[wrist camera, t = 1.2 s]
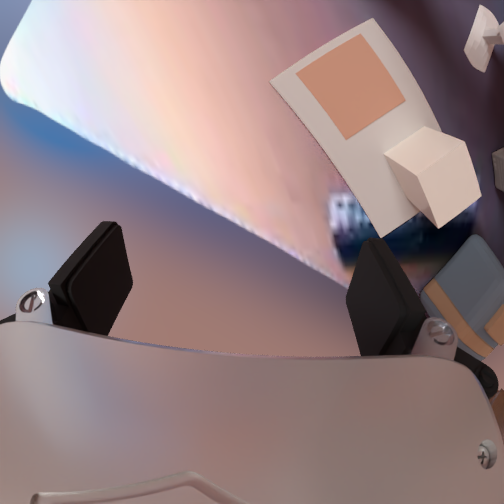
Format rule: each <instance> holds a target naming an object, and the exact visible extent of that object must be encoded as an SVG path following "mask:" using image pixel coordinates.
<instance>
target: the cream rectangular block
mask: <svg viewBox="0 0 504 504" xmlns="http://www.w3.org/2000/svg"><path fill="white" fill-rule="evenodd" d="M384 156H385V157H386V159H387V161H388V163H389V165H390V166H391V168H392V170H393V172H394V174H395V176H396V178H397V180H398V182H399V183H400V185H401V187H402V189H403V191H404V193H405V195H406V198H407V199H408V200H410V201H411V202H412V203H413V204H414V205H415V206H416V207H417V208H418V209H419V210H420V211H421V212H422V213H423V214H424V215H425V216H426V217H427V218H428V219H429V220H430V221H431V222H432V223H433V224H434V225H435V226H436V227H437V228H438V229H439V228H440V227H442V226H443V225H444V224H446V223H447V222H449V221H450V220H451V219H453V218H454V217H455V216H457V215H458V214H459V213H461V212H462V211H463V210H464V209H466V208H467V207H468V206H470V205H471V204H472V203H473V202H475V201H476V200H477V199H479V198H480V197H481V192H480V188H479V185H478V181H477V177H476V174H475V171H474V167H473V164H472V161H471V158H470V155H469V152H468V149H467V147H466V144H465V142H464V141H462V140H460V139H457V138H455V137H452V136H450V135H447V134H444V133H442V132H439V131H436V130H434V129H431V128H428V127H425V126H424V127H422V128H421V129H420V130H418V131H417V132H415V133H414V134H412V135H411V136H409V137H408V138H406V139H405V140H403V141H402V142H400V143H399V144H397V145H396V146H394V147H393V148H392V149H390V150H389V151H387V152H386V153H384Z"/></svg>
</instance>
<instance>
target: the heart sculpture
mask: <svg viewBox="0 0 504 504" xmlns="http://www.w3.org/2000/svg"><path fill="white" fill-rule="evenodd" d="M495 44H504V22H503V23H502V24H501V25H500V26H499V24H498V22H497V20H496V19H495V17H494V15H493V14H492V13H491V12H490V11H489V10H488V9H487V8H485V7H483V6H481V5H480V6H479V9H478V12H477V15H476V18H475V21H474V24H473V27H472V30H471V32H470V35H469V38H468V40H467V43H466V46H465V48H464V52H465V54H466V56H467V58H468V59H469V61H470V63H471V64H472V66H473V67H475V68H476V69H478V70H480V71H482V72H485V71H486V68H487V65H488V62H489V60H490V57H491V54H492V51H493V48H494V45H495Z"/></svg>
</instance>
